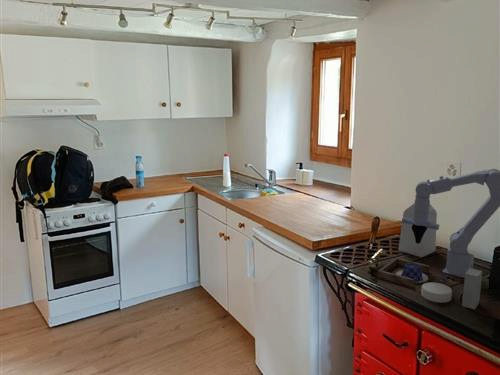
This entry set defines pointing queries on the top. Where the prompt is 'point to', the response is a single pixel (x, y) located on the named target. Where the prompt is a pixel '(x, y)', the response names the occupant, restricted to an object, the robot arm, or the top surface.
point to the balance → (376, 260)
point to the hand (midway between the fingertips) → (418, 242)
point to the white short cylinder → (436, 292)
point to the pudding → (413, 272)
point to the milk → (408, 237)
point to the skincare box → (472, 288)
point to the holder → (399, 279)
